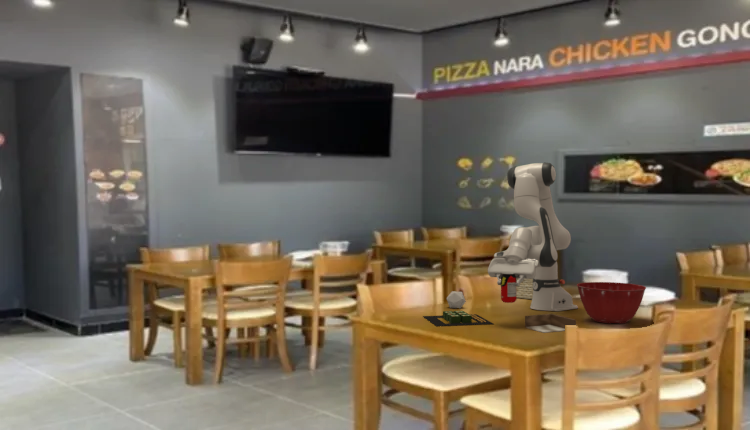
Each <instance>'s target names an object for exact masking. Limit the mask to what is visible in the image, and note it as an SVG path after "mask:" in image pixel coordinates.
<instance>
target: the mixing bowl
mask: <svg viewBox="0 0 750 430" xmlns="http://www.w3.org/2000/svg"><path fill="white" fill-rule="evenodd" d="M576 286H577V289H578V294H579V297H580V301H581V303H582V305H583V309H584V310H585V311H586V314H587V315H588V316H589V318H591V319H592V320H593V321H594V322H598V323H601V324H602V323H603V324H611V323H619V324H626V323H628V322H629V321H630V320H632V319H633V318H634V317H635V316H636V314H637V312H638V310H639V308H640V307H641V304H642V301H643V298H644V295H645V291H646V289H647V287H646V286H645V285H641V284H636V283H626V282H610V281H593V282H592V281H591V282H590V281H588V282H587V281H586V282H580V283H577V284H576Z"/></svg>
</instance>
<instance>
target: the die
mask: <svg viewBox="0 0 750 430" xmlns="http://www.w3.org/2000/svg"><path fill="white" fill-rule="evenodd" d="M446 301H447V304H448V306H449V309H457V308H459V309H462V307H463V306H464V304H466V298H465V296H464V294H463V291H455V290H454V291H453V290H452V291H451V292H450V293H449V294H448V296H447V297H446Z"/></svg>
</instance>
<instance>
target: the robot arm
mask: <svg viewBox="0 0 750 430" xmlns="http://www.w3.org/2000/svg"><path fill="white" fill-rule="evenodd" d="M556 175H557V173H556V169H555V166H554V165H553V164H552V163H550V162H543V163H542V162H535V163H529V164H524V165H519V166H517V165H516V166H512V167H510V168H509V170H508V171H507V175H506V181H507V183H508V186H509V187H510V188H511V189H514V190H513V207H514V210H515V213H516V214H517V215H519V217H521V218H524V219H525V220H526V219H527V220H531V221H532V222H533V221H534V222H535V223H537V224H538V225H531V226H527V227H524V226H523V227H522V226H521V227H516V228H515V229H514V230H513V232H512V233H511V236H510V239H509V245H508V248H507V249H506V250H503V251H498V252H495V253H494V255H493V258H492V260H491V261H490V263H489V265H488V268H487V274H488V276H489V277H490V278H497V283H496V284H497V286H501V276H502V273H515V276H516V278H519V279H518V280H516V282H515V285H516V286H520V283H521V282H522V281H523V280H524V278H525V279H533V297H532V299H531V303H530V306H529V308H530V309H533V310H537V311H549V312H550V311H552V312H562V311H567V310H569V311H570V310H574V309H578V305H577V304H573V303H574V302H573V296H572V295H571V294H570V293H569V292H568V291H567V290H565V288H564V287H562V286H561V285H564V284H566V281H565V279H559V277H558V262H557V261H558V259H559V254H558V251H561V250H565V249H568V247H569V246H570V244H571V242H572V239H571V238H572V237H571V233H570V232H569V230H568V229H567V228H565V226H563V225H562V224H561V222H560V220H559V218H558V217H557V215H556V212H555V209H554V208H555V207H554V203H553V196H552V191H551V188H550V187H551V185H553V184H554V183H555V181H556V177H557V176H556Z"/></svg>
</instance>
